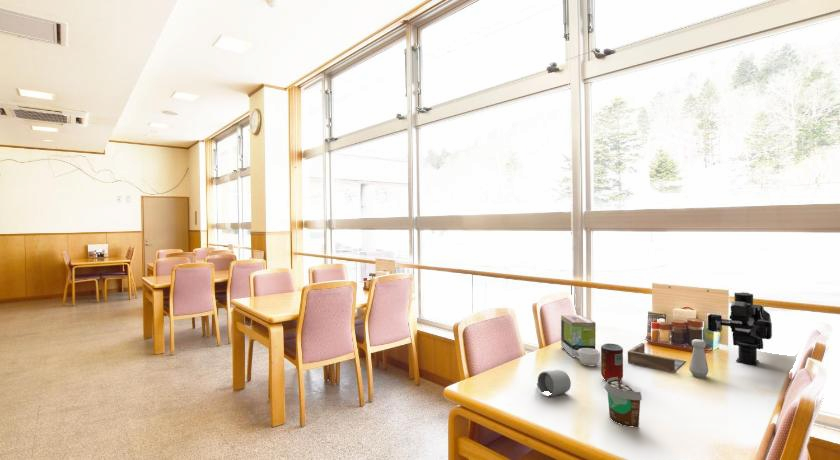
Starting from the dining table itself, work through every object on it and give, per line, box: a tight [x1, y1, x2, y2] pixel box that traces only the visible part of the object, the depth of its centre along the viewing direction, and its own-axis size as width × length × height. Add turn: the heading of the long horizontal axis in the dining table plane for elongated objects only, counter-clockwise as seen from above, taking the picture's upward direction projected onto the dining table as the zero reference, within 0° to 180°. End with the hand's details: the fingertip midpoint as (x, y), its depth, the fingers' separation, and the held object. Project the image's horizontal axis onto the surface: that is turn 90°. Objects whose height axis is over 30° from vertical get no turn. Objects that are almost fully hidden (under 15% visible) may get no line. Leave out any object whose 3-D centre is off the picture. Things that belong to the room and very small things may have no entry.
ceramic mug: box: [536, 369, 572, 397], centre depth 140 cm, size 11×8×8 cm
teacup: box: [574, 348, 601, 366], centre depth 168 cm, size 10×8×5 cm
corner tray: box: [627, 342, 687, 373], centre depth 168 cm, size 16×16×4 cm
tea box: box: [560, 314, 597, 357], centre depth 182 cm, size 15×10×15 cm
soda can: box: [600, 343, 624, 382], centre depth 150 cm, size 7×7×12 cm
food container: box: [604, 377, 643, 428], centre depth 119 cm, size 12×6×10 cm, turn 5°
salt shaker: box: [689, 338, 709, 379], centre depth 153 cm, size 6×6×13 cm
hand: (733, 331), depth 150 cm, fingers open, 9 cm apart
